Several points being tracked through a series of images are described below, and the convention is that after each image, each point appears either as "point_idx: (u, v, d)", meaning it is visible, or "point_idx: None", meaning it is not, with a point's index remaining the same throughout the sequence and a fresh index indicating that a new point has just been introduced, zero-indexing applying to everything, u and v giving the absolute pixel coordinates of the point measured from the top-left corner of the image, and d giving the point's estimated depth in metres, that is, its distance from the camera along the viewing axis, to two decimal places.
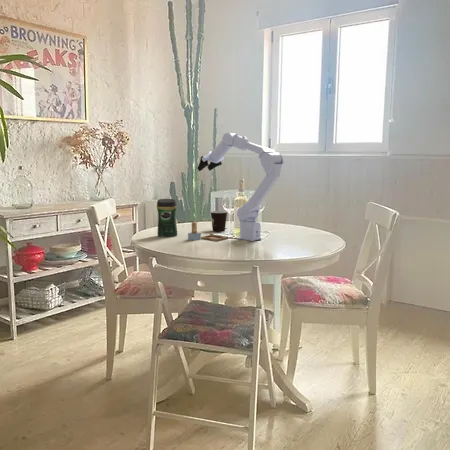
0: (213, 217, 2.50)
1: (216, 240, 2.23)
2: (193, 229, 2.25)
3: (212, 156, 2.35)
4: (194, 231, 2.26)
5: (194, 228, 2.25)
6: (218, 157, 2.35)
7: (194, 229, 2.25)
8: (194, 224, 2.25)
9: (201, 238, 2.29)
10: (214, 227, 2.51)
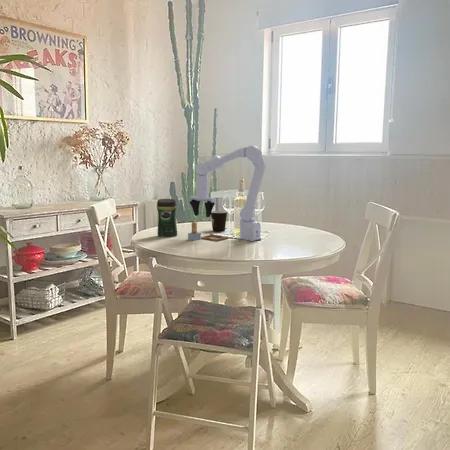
0: (213, 217, 2.50)
1: (216, 240, 2.23)
2: (193, 229, 2.25)
3: (207, 194, 2.30)
4: (194, 231, 2.26)
5: (194, 228, 2.25)
6: None
7: (194, 229, 2.25)
8: (194, 224, 2.25)
9: (201, 238, 2.29)
10: (214, 227, 2.51)
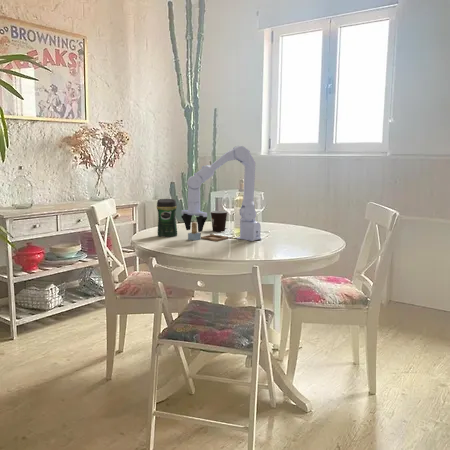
0: (213, 217, 2.50)
1: (216, 240, 2.23)
2: (193, 229, 2.25)
3: (199, 209, 2.24)
4: (194, 231, 2.26)
5: (194, 228, 2.25)
6: None
7: (194, 229, 2.25)
8: (194, 224, 2.25)
9: (201, 238, 2.29)
10: (214, 227, 2.51)
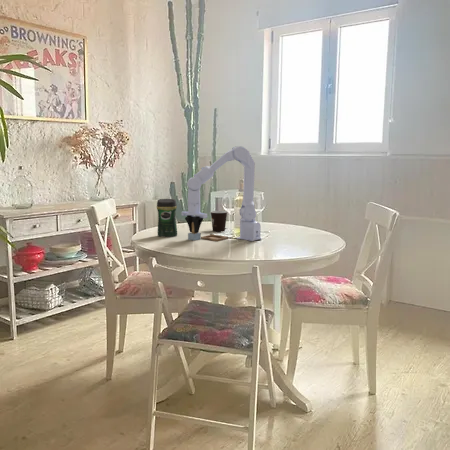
0: (213, 217, 2.50)
1: (216, 240, 2.23)
2: (193, 229, 2.25)
3: (199, 210, 2.24)
4: None
5: None
6: None
7: None
8: None
9: (201, 238, 2.29)
10: (214, 227, 2.51)
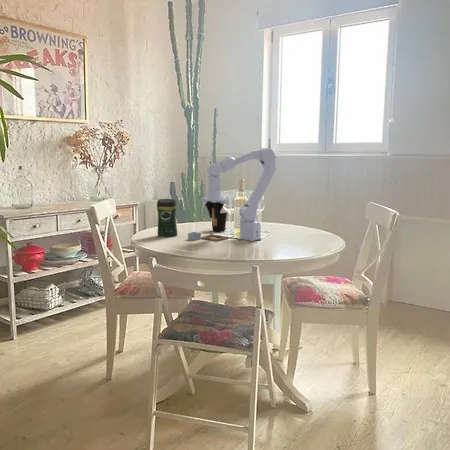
0: None
1: (216, 240, 2.23)
2: (213, 215, 2.26)
3: (219, 196, 2.24)
4: (214, 217, 2.26)
5: None
6: None
7: (214, 215, 2.26)
8: None
9: (201, 238, 2.29)
10: (214, 227, 2.51)
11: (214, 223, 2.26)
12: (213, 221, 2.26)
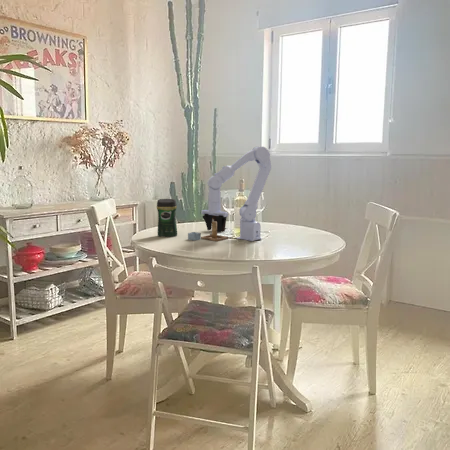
0: (213, 217, 2.50)
1: (216, 240, 2.23)
2: (213, 228, 2.27)
3: (219, 209, 2.25)
4: (214, 230, 2.27)
5: (214, 227, 2.27)
6: None
7: (214, 228, 2.27)
8: (214, 223, 2.26)
9: (201, 238, 2.29)
10: None
11: (214, 236, 2.27)
12: (213, 234, 2.27)
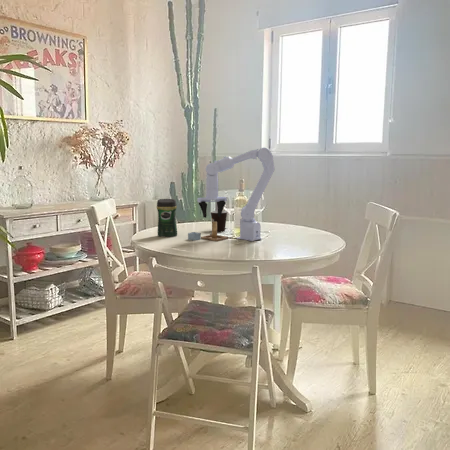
0: (213, 217, 2.50)
1: (216, 240, 2.23)
2: (213, 228, 2.27)
3: None
4: (214, 230, 2.27)
5: (214, 227, 2.27)
6: None
7: (214, 228, 2.27)
8: (214, 223, 2.26)
9: (201, 238, 2.29)
10: None
11: (214, 236, 2.27)
12: (213, 234, 2.27)
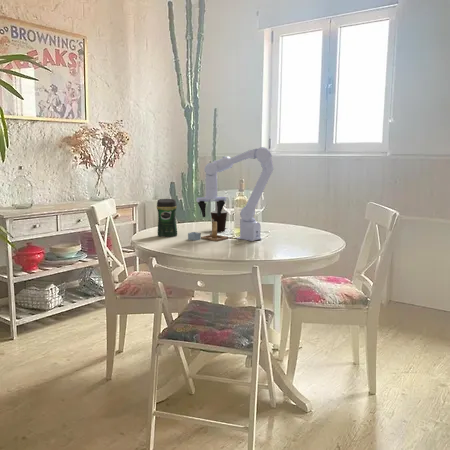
0: (213, 217, 2.50)
1: (216, 240, 2.23)
2: (213, 228, 2.27)
3: None
4: (214, 230, 2.27)
5: (214, 227, 2.27)
6: None
7: (214, 228, 2.27)
8: (214, 223, 2.26)
9: (201, 238, 2.29)
10: None
11: (214, 236, 2.27)
12: (213, 234, 2.27)
